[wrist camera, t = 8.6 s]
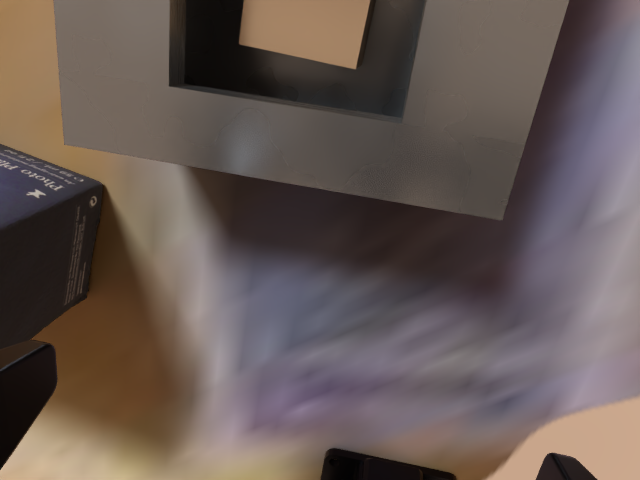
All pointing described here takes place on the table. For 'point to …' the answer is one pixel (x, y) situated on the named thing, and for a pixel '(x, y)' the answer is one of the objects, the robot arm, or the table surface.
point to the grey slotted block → (315, 96)
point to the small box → (43, 242)
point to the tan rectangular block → (309, 28)
